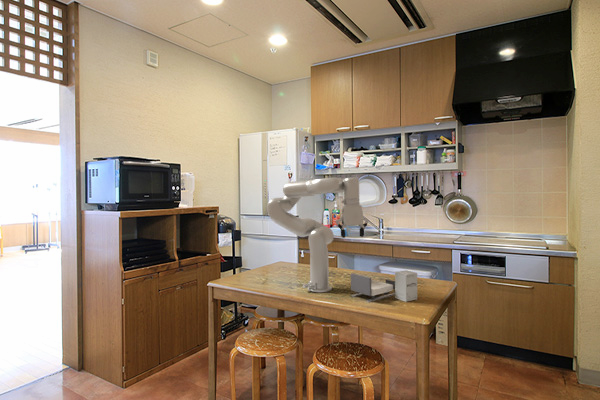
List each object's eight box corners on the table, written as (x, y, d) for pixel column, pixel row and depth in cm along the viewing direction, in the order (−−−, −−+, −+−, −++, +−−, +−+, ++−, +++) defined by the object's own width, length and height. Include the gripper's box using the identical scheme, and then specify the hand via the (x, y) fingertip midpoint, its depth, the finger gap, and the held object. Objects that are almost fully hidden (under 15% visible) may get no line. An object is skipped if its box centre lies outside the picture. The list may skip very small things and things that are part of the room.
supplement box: (405, 302, 160) (405, 274, 160) (394, 298, 167) (394, 271, 167) (417, 299, 164) (417, 272, 164) (406, 295, 170) (406, 269, 170)
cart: (371, 300, 160) (371, 278, 160) (349, 294, 171) (349, 273, 171) (393, 294, 169) (392, 273, 169) (370, 288, 180) (370, 269, 180)
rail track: (370, 302, 160) (370, 294, 160) (348, 296, 171) (348, 287, 171) (409, 292, 176) (409, 284, 176) (386, 286, 188) (386, 279, 188)
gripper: (337, 203, 169) (338, 238, 170) (371, 202, 174) (372, 237, 174) (332, 203, 177) (333, 237, 177) (364, 202, 181) (365, 235, 181)
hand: (352, 237), depth 175 cm, fingers open, 9 cm apart
